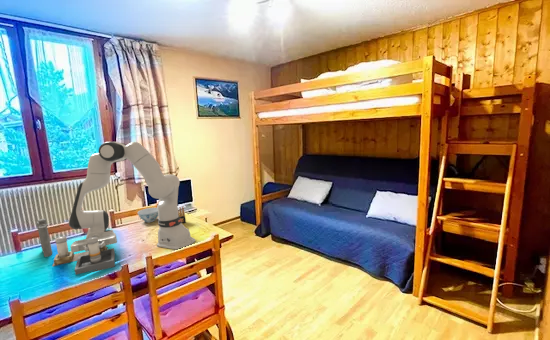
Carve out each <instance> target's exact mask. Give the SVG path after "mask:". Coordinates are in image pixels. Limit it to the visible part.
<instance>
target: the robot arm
mask: <svg viewBox="0 0 550 340" xmlns="http://www.w3.org/2000/svg"><path fill="white" fill-rule="evenodd" d="M126 160H128V161H129V162H130V163H131V164H132V165H133V166H134V168H135V169H136V170H137V171H138V172H139V173H140V174H141V176H142V178H143V179H144V181H145V183H146V185H147V187H148V188H147V191H148V194H149V196H151V197H152V198H153V199H156V200H158V202H157V206H156V208H157V209H158V217H157V218H158V219H157V223H158V227H159V228H158V231H157V243H156V247H158V248H165V249H170V250H180V249H179V248H181V249H183V248H182V247H184V248H186V247H188V246H191V245H192V244H194V243H195V242H196V239H195V238H194V237H192V236H191V233H190V229H189V228H187V227H185V225H184V223H183V224H182V223H181V220H182V219H180V217H179V215H180V214H179V215H178V210H179V208H178V207H179V206H178V199H179V197H178V196H179V186H180V183H181V182H180V179H179V177H178V176H177V175H174V174H165V175H164V173H163V172H162V169H161V165H160V163H159V162H158V161H157V160H156V158H154V156H153V155H152V154H151V153H150V152H149V150H148V149H146V148H145V147H144V146H143V145H142V144H141V143H139V142H137V141H133V142H130V143H128V144H125V143H123V142H119V141H105V142H103V143H102V144H100V146H99V147H98V152H96V153H93V154H91V155H90V156H89V159H88V163H87V171H86V178H84V180H83V181H81V182H79V185H78V186H77V190H76V194H75V198H74V202H73V205H72V206H73V207H72V210H71V212H70V215H69V217H68V226H69V227H70V228H71V229H74V230H76V231H77V230H83V229H88V231H87V233H86V238H84V239H79V240H75V241H73V242H72V244H70V251H71V252H74V253H77V252H82V251H83V252H87V251H89V247H88V243H87V239H88V238H91V237H98V243H99V248H102V247H103V246H106V247H107V246H109V245H115V244H117V243H118V239H117V234H116V233H115V232H114V230H113V229H108V228H109V222H110V221H109V220H110V219H109V217H110V216H109V213H108V212H107V211H106V210H104V209H96V210H82V209H83V208H82V207H83V203H84V200H85V196H86V195H87V194H89V193H91V192H94V191H97V190H101V189H103V188H106V186H107V185H109V183H110V181H111V169H112V164H114V163H115V164H116V163H120V162H124V161H126ZM185 246H186V247H185Z"/></svg>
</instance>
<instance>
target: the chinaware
mask: <svg viewBox="0 0 550 340" xmlns="http://www.w3.org/2000/svg"><path fill="white" fill-rule="evenodd" d="M137 216H138V217H139V218H140V219H141V220H143V221H144V222H145V223H152V222H155V221H156V219H157V218H159V217H158V209H157V207H146V208H144V209H140V210H138V211H137Z"/></svg>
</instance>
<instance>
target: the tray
mask: <svg viewBox="0 0 550 340" xmlns="http://www.w3.org/2000/svg"><path fill="white" fill-rule="evenodd" d="M100 255H101V261H99V262H97V263H91V260H90V255H89V254H86V255H82V256H78V260H77V261H76V265H75V267H74V274H75V275H80V274H83V273H87V274H91V273H95V272H98V271H99V272H100V271H105V270H106V269H111V268H114V267H115V266H116V264H115V262H116V260H115V259H116V257H115V255H116V254H115V248H110V249H109V248H108V250H104V251H100Z"/></svg>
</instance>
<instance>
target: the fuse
mask: <svg viewBox="0 0 550 340" xmlns="http://www.w3.org/2000/svg"><path fill="white" fill-rule="evenodd" d="M67 239H68V238H67V236H59V237H56V238H55V244H56V250H57V254H58V256H59V257H58V258H63V257H67V256H69V252H70V251H69V248H68V240H67Z"/></svg>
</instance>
